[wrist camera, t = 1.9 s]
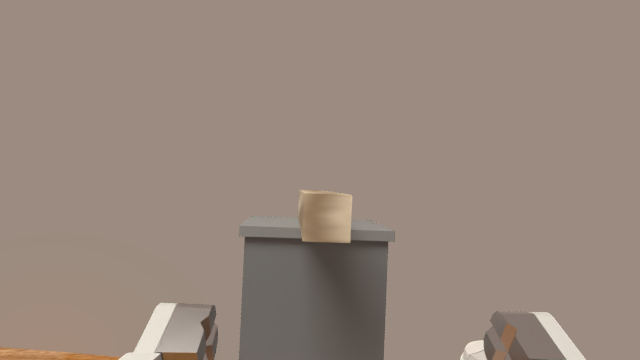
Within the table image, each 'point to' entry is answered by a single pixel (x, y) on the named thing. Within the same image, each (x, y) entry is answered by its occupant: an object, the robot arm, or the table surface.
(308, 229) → the tan wooden bar
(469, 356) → the paper cup
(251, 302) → the tall grey block
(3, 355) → the table surface
